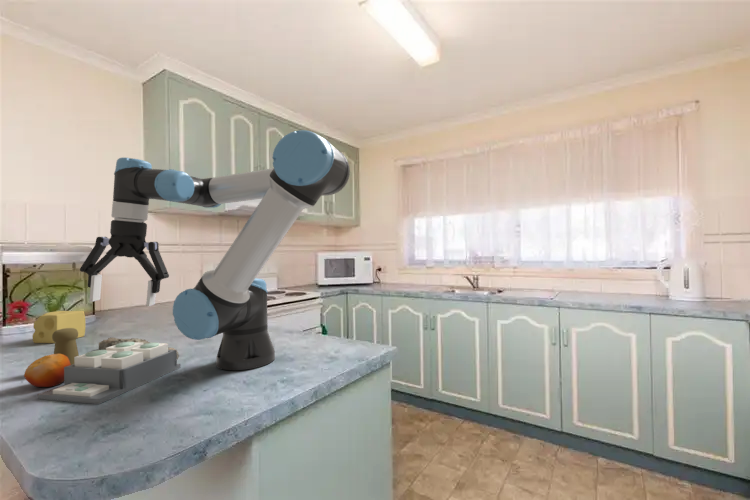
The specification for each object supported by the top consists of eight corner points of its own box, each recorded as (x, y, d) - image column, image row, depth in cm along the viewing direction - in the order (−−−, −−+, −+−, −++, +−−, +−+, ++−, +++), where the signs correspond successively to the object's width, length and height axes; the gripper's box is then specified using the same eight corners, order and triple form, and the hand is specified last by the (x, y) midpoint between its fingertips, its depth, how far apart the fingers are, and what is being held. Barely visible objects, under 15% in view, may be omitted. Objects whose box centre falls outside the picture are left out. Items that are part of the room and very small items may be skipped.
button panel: (180, 367, 92) (180, 348, 92) (99, 404, 71) (98, 379, 71) (130, 364, 96) (129, 346, 96) (38, 398, 74) (37, 375, 74)
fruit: (87, 371, 87) (67, 348, 83) (55, 399, 80) (32, 375, 76) (66, 368, 89) (46, 346, 85) (34, 395, 83) (10, 372, 79)
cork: (63, 374, 89) (62, 331, 89) (44, 373, 90) (43, 331, 90) (87, 366, 95) (86, 326, 95) (69, 365, 96) (68, 326, 96)
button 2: (143, 364, 83) (143, 350, 83) (121, 372, 77) (121, 357, 77) (123, 363, 84) (123, 349, 84) (101, 371, 79) (101, 356, 79)
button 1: (117, 363, 84) (117, 349, 84) (94, 371, 79) (94, 356, 79) (98, 362, 86) (98, 348, 86) (74, 370, 80) (74, 355, 80)
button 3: (143, 353, 92) (143, 341, 92) (124, 360, 86) (124, 347, 86) (126, 353, 93) (125, 340, 93) (106, 359, 87) (105, 346, 87)
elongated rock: (154, 373, 93) (188, 363, 102) (155, 353, 93) (189, 345, 102) (87, 351, 109) (122, 344, 118) (88, 334, 109) (123, 329, 118)
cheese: (32, 343, 123) (31, 315, 123) (64, 335, 133) (63, 309, 133) (56, 344, 121) (56, 315, 121) (87, 336, 132) (86, 309, 132)
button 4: (168, 355, 90) (167, 341, 90) (150, 362, 85) (149, 348, 85) (150, 354, 91) (149, 341, 91) (130, 361, 86) (130, 347, 86)
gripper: (187, 226, 93) (180, 304, 94) (88, 216, 91) (82, 295, 92) (173, 225, 86) (165, 310, 87) (65, 214, 84) (59, 301, 85)
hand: (122, 303), depth 89 cm, fingers open, 13 cm apart
